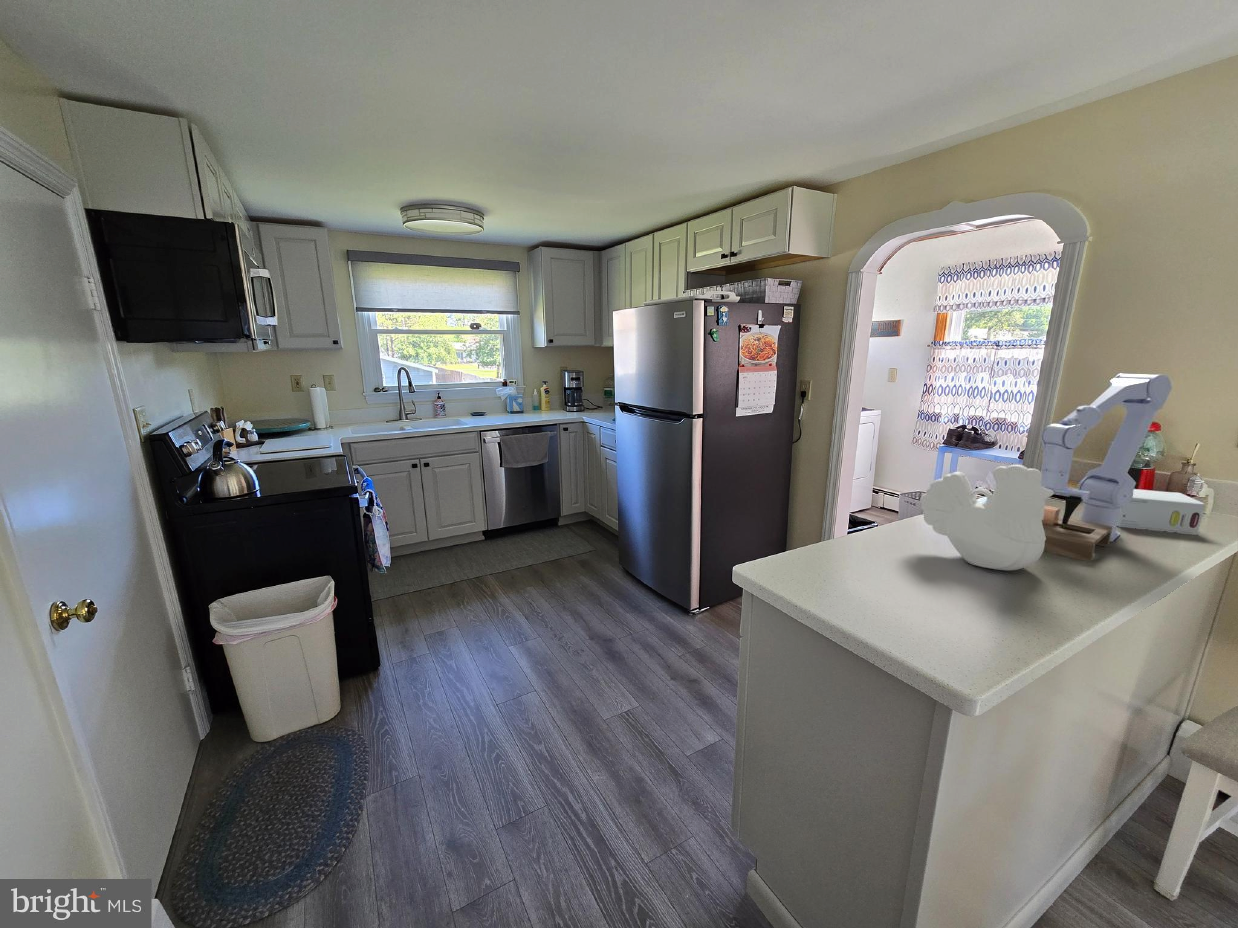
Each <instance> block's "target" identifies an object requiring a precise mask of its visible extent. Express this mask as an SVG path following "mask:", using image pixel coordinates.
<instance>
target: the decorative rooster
mask: <svg viewBox="0 0 1238 928" xmlns="http://www.w3.org/2000/svg"><path fill="white" fill-rule="evenodd" d="M992 477H993V480H994V482H995V483H996V484H995V486H994V490H993V492H991V491H990V490H989V489H987V488H983V487H978V488H975V489H973V488H972V487H971V484H970V482H969V479H968V478H967V476H966V475H965V473H964V472H962V471H953V472H952V473H946V474H945V475H944V476H943V478H937V479H935V480H934V481H932V482H931V483H930V486H929V487H928V488H927V489H926V491H925V492H926V493H923V494H922V496H921V497H920V499H919V500H920V501H919V502H920V503H921V504H920V509H921V510H922V515H923V520H924V522H925V523H926V524H927V525H929V526H932V529H933V531H934V532H935V533H937V534H939V535H941V536H946V537H947V538H948V540H949V541H950V543H951V545H952V546H953V548H954V549H955V550H956V551H957V553H958V554H959V555H960V556H961V557H962V558H963V559H964V560H965V562H967V563H969V564H970V565H973V566H977V567H980V568H981V567H982V568H986V569H993V570H1001V571H1017V570H1020V569H1023V568H1026V567H1028V566H1030V565H1032V564H1034V563H1035V562H1037V561H1038V560H1039V559H1040V558H1041V556H1042V555H1043V552H1045V551H1044V546H1045V540H1046V537H1045V532H1044V529H1043V525H1042V520H1043V518H1044V507H1045V506H1046V500H1048V499H1050V497H1052V496H1053V495H1055V494H1054V492H1052V491H1050V490H1048V489H1046V488H1044V487H1042V485H1041V480H1042V474H1041V470H1039V469H1037V468H1028V467H1026V466H1025V465H1022V464H1010V465H1008V466H1004V465H999V466H996V468H994V470H993V471H992ZM980 494H981V495H984V496H985V497H986V501H984V502H981V501H978V500H977V495H980Z"/></svg>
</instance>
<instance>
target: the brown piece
mask: <svg viewBox="0 0 1238 928" xmlns="http://www.w3.org/2000/svg"><path fill="white" fill-rule="evenodd" d="M1060 513H1061V507H1055V506H1049V505H1045V507H1044V518H1043V520H1042V524H1047V525H1052V526H1053V525H1055V524H1056V523H1058V519H1059V516H1060Z"/></svg>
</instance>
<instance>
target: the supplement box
mask: <svg viewBox="0 0 1238 928" xmlns="http://www.w3.org/2000/svg"><path fill="white" fill-rule="evenodd" d="M1205 507H1206V503H1204V502H1203V501H1200V500H1197V499H1195V498H1193V497H1191V496H1188V495H1186V494H1183V493H1181V492H1172V491H1171V492H1170V491H1162V490H1150V489H1149V490H1148V489H1138V488H1137V489H1136V488H1134V490H1133V497H1132V500H1131V501H1130V502H1129V503H1128V504H1127V505H1125V506H1124V507H1120V511H1119V518H1118V523H1117V526H1118V527H1120V528H1125V529H1126V528H1128V529H1135V528H1136V530H1145V529H1148V530H1147V531H1156V532H1163V531H1167V532H1166V533H1173V532H1177V533H1176V534H1185V535H1193V536H1197V535H1198V533H1199V529H1200V525H1201V523H1202V517H1203V514H1204V511H1205ZM1118 527H1117V528H1118Z"/></svg>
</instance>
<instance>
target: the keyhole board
mask: <svg viewBox="0 0 1238 928" xmlns="http://www.w3.org/2000/svg"><path fill="white" fill-rule="evenodd" d="M1062 520H1063V516H1061V515H1059V519H1058V523H1056V524H1055V525H1053V526H1052V525H1047V524H1042V525H1043V529H1044V532H1045V537H1046V540H1045V546H1044V551H1043V552H1049V553H1053V554H1058V555H1060V556H1065V557H1070V558H1073V559H1077V560H1081V561H1086V562H1092V560H1093V558H1094V553H1095V546H1096V545H1097V546H1101V547H1105V548H1107V547H1109V545H1110V542H1111V541H1110V537H1111V533H1112V528H1113V527H1111V526H1106V525H1100V524H1095V523H1090V522H1085V521H1080V519H1074V518H1071V517H1070V518H1069V521H1068V523H1067V524H1062Z"/></svg>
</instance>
